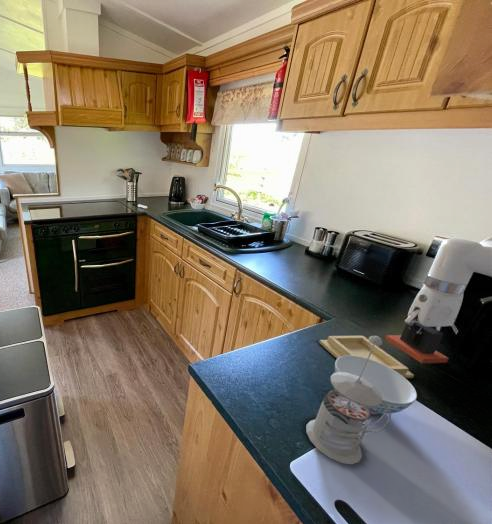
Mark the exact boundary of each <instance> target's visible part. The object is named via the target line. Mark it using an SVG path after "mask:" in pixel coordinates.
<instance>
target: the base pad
mask: <svg viewBox="0 0 492 524" xmlns="http://www.w3.org/2000/svg"><path fill="white" fill-rule="evenodd" d="M368 339H369V338H367V337H366V336H364V335H328V336H327V338H326V339H319V342H318V343H319V344H320V345H321V346H322V347H323V348H324V349H326V351H328V353H329V354H331V355H332V356H333V357H334V358H336V360H337V359H338V358H339V357H341V356H346V355H352V356H359V357H364V358H368V356H369V353H370V351H371V349H372V346H373V344H372V343H370V342H369V340H368ZM369 359H371V360H374V361H376V362H379V363H381V364H383V365H385V366H387V367H389V368H391V369H393V370H394V371H396V372H397V373H399V374H400V375H402V376H403V377H404V378H405V379H413V378H414V377H415V375H414V373H412V372H411V371H410V370H409V368H408V367H407V366H406V365H404V364H403V363H402V362H400V361H398V359H396V358H395V357H393V356H392V355H391V354H389V353H387V352H386V351H385V350H383V349H382V348H380V346H379V345H374V348H373V350H372V352H371V355H370V357H369Z"/></svg>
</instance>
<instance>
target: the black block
mask: <svg viewBox="0 0 492 524" xmlns="http://www.w3.org/2000/svg"><path fill="white" fill-rule="evenodd" d="M416 325H418V327H420V325H419V324H416ZM409 330H410V329H409V326H408V325H407V324H406V323H405V326H404V328H403V330H402V333H401V334H388V335H386V336H385V341H387V342H388V343H390V344H391V345H393V346H395V348H397V349H399V350H401V351H402V352H403V353H405V354H407V355H408V356H410V357H411V358H412V359H414V360H415V361H417V362H418V363H420V364H423V365H424V364H445V363H446V364H447V363H448V361H449V359H450V358H449V357H448V356H446V355H444V354H443V353H441V352H440V351H438V350H437V348H438V347H439V344H440V342H441V340H442V339H443V336H444V333H443V332H441V331H437V330H435V329H434V328H432V327H425V329H424V330H423V332H422V333H421V334H423V336H422V338H421V340H420V343H419V345H418V346H414V345H412V344H410V343H409V342H407V341H406V340H405V339H406V337H407V334H408V332H409Z"/></svg>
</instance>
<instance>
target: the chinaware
mask: <svg viewBox="0 0 492 524" xmlns="http://www.w3.org/2000/svg"><path fill="white" fill-rule="evenodd" d="M366 360H367V358H364V357H359V356H352V355H346V356H341V357H339V358H338V359H337V358H336V360H335V361H334V362H335V363H334V373H337V372H346V373H350V374H353V375H356V376H359V377H360V374H361V372H362V370H363V367H364V365H365V363H366ZM361 377H362V378H363V379H365V380H366V381H367V382H369V383H370V384H372V385H373V386H374V387H375V388H376V389H377V390H378V391H379V392H380V393H381V396H382V400H383V401H384V403H385V405H386V407H387V408H388V409H389V411H390V414H395V413H399V412H402V411H405V410H406V409H407V408H408V407H410V406H412V405H413V404H414V403H415V402H416V400H417V398H418V393H417V391H416V389H415V387H414V386H413V384H412V383H411V382H410V381H409V380H408V378H404V377H403V376H402V375H400V374H399V373H397V372H396V371H394V370H393V369H391V368H389V367H387V366H385V365H383V364H381V363H379V362H376V361H374V360H371V359H368V362H367V364H366V366H365V369H364V371H363V373H362V376H361ZM381 403H382V404H383V402H382V401H381ZM367 407H368V408H369V409H370V412H371V415H377V414H383V413H384V411H385V407H384V406H383V405H381V404H379V405H378V406H377V407H375V406H372V407H370V406H367ZM387 414H388V415H389V413H388V410H387V409H386V413H385V415H387Z"/></svg>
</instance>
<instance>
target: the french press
mask: <svg viewBox="0 0 492 524" xmlns="http://www.w3.org/2000/svg"><path fill="white" fill-rule="evenodd" d="M367 339H368V340H369V342H370V343H372V344H373V346H372V349H371V351H370V353H369V356H368V358H367V360H366V363H365V365H364V367H363V370H362V372H361V374H360V377H359V376H356V375H353V374H350V373H346V372H337V373H335V372H333V373H332V374H331V375H330V383H331V386H332V387H333V388H334V389H332V390H329V391H328V392H327V393H326V395H325V396H324V397H323V399H322V402H321V404H320V407H319V410H318V412H317V415H316V417H315V419H312V420H309V422H308V423H307V424H306V426H305V427H306V428H305V429H306V431H305V433H306V434H307V436H308V438H309V441H310V442H311V444H313V446H314V447H315V448H316V449H317V450H318V451H319V452H321V453H322V454H323V455H325V456H326V457H327V458H329V459H331V460H334V461H336V462H338V463H340V464H344V465H345V464H346V465H354V464H357V463H360V461H361V459H362V457H363V453H362V448H361V446H360V444H361V442H362V440H363V438H364V436H365V434H368V433H377V432H380V431H382V430H384V429H385V428H386V427H387V426H388V425H389V424H390V421H391V420H392V413H390V411H389V409H388V408H387V407H386V405H385V403H384V401H383V400H382V396H381V393H380V392H379V391H378V390H377V389H376V388H375V387H374V386H373V385H372V384H370V383H369V382H367V381H366V380H365V379H363V378H362V377H361V376H362V373H363V371H364V369H365V366H366V364H367V362H368V359H369V357H370V355H371V352H372V350H373V348H374V345H376V346H378V347H380V346H382V345H383V340H382V338H381V337H380V336H378V335H371V336H368V338H367ZM381 401H382V402H383V404H382V403H381ZM379 404H381V405H383V406H384V407H385V411H384V413H382V416H381V417H380V418H379V419H378V420H376V421H374V422H371V419H370V418H371V417H372V414H371V412H370V409H369V408H368V407H367V406H370V407H372V406H375V407H377V406H378V405H379ZM386 409H387V410H388V413H389V414H388V419H387V421H386V423H385V424H384V425H383V426H381V427H380V428H377V429H374V430H368V428H369V426H371V425H376V424H377V423H379V422H380V421H382V420H383V419H384V418H385V416H386V414H385V413H386ZM334 410H335V411H334ZM339 417H340V418H339ZM341 418H342V419H343V420H344V421H343V420H342V419H341ZM365 421H366V422H365ZM364 422H365V423H364ZM357 438H358V439H357Z"/></svg>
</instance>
